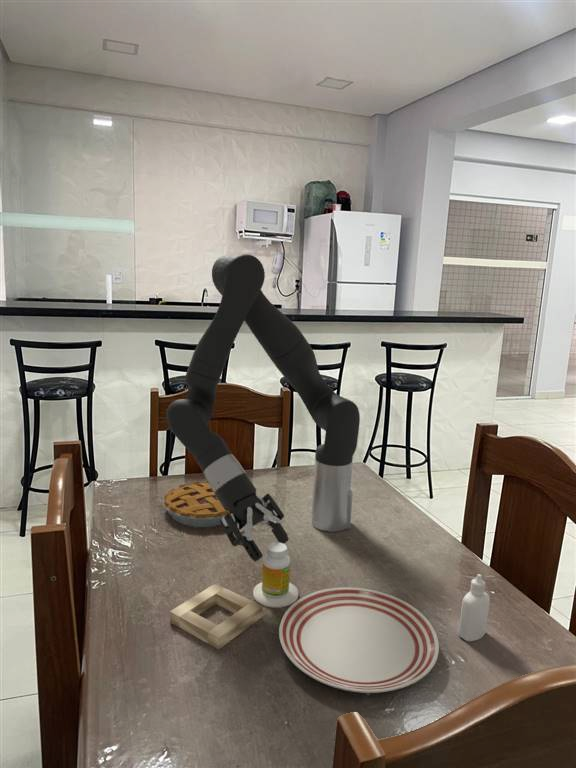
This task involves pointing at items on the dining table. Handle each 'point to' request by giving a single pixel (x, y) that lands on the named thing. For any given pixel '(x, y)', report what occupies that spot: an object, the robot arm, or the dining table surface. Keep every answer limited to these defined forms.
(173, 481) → the dining table surface
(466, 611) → the eye dropper bottle
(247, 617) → the birch pocket block
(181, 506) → the pie
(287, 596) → the pale ceramic coaster
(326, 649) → the dinner plate
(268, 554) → the supplement bottle
